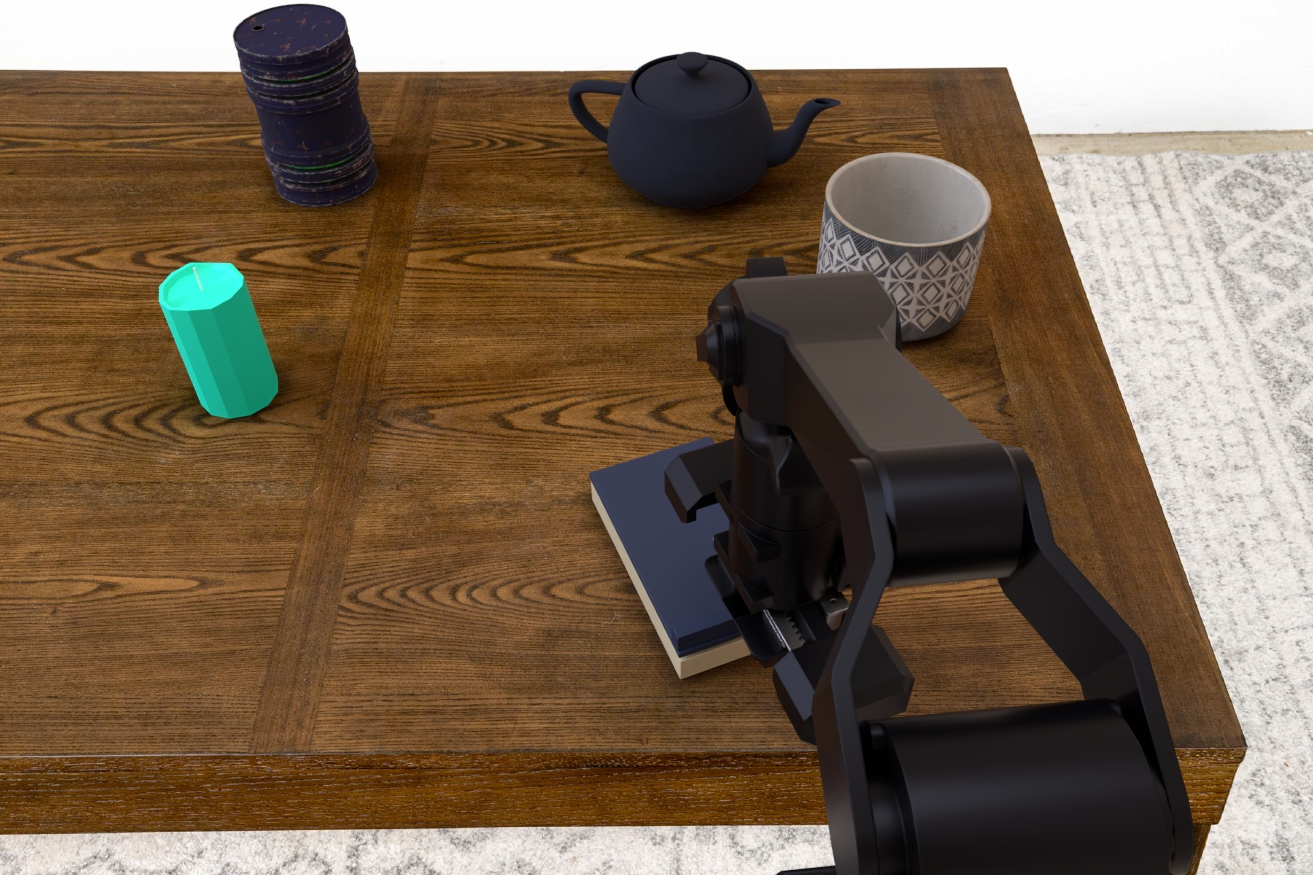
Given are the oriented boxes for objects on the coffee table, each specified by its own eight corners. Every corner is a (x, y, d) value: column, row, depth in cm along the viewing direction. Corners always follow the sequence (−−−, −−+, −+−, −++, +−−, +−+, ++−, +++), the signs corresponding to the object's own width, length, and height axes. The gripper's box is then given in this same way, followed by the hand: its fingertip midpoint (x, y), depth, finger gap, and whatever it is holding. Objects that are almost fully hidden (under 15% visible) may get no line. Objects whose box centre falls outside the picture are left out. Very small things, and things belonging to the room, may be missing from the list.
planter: (954, 366, 91) (979, 259, 84) (798, 333, 94) (809, 228, 87) (976, 271, 100) (1001, 167, 92) (831, 244, 102) (844, 141, 95)
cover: (814, 610, 72) (817, 592, 71) (679, 658, 70) (679, 641, 69) (710, 440, 83) (710, 421, 81) (589, 477, 80) (587, 458, 79)
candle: (268, 418, 88) (224, 295, 79) (190, 418, 88) (137, 295, 79) (287, 365, 92) (247, 242, 83) (212, 365, 92) (164, 242, 84)
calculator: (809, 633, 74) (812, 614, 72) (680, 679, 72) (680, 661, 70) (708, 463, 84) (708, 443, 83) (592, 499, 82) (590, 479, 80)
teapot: (548, 205, 107) (537, 85, 98) (596, 119, 117) (590, 3, 109) (816, 245, 102) (830, 122, 94) (842, 151, 113) (856, 33, 104)
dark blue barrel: (390, 151, 114) (361, 5, 103) (364, 209, 107) (330, 59, 96) (291, 147, 114) (252, 1, 104) (259, 205, 107) (213, 54, 97)
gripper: (1036, 577, 53) (972, 746, 65) (842, 331, 65) (817, 510, 77) (821, 655, 51) (794, 818, 62) (660, 383, 63) (661, 561, 74)
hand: (769, 661), depth 69 cm, fingers closed
